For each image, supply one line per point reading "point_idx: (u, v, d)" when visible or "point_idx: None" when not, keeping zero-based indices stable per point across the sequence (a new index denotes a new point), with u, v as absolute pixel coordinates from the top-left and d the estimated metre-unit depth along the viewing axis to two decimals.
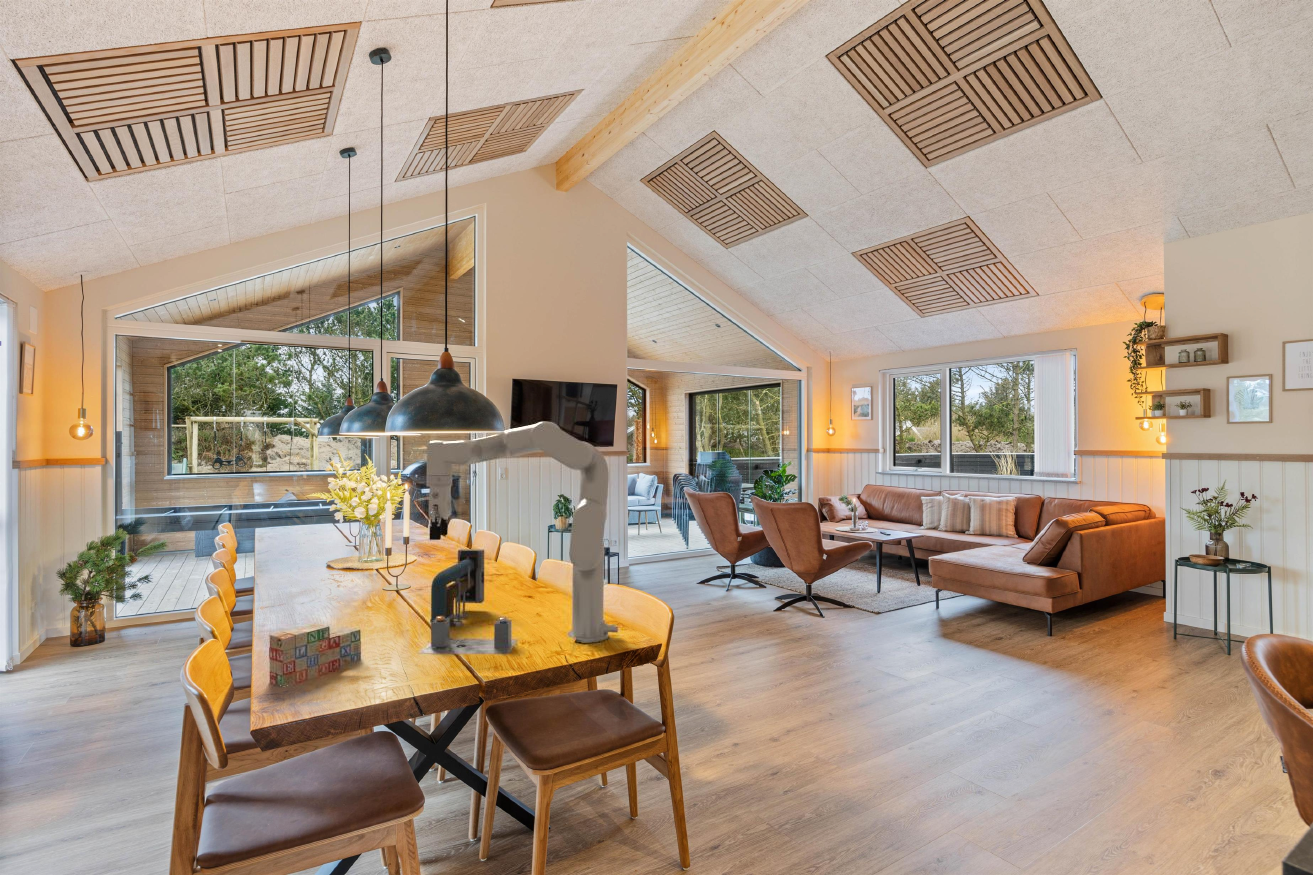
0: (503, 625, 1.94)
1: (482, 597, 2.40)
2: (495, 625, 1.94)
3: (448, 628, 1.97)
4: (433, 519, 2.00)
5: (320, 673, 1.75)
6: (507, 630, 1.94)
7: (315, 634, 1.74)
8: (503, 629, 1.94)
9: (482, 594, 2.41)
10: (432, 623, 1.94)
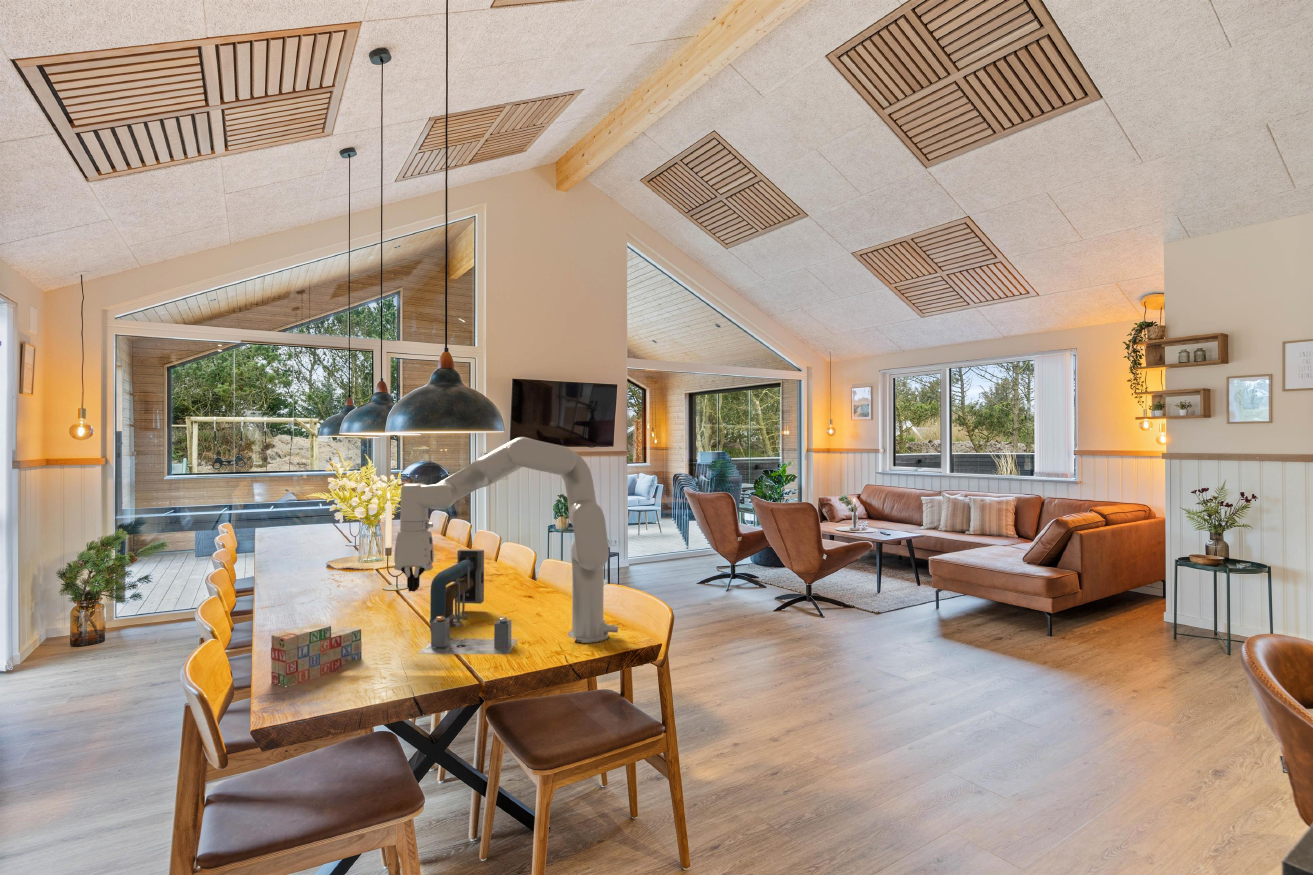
0: (503, 625, 1.94)
1: (481, 598, 2.40)
2: (495, 625, 1.94)
3: (448, 628, 1.97)
4: (425, 570, 1.96)
5: (322, 673, 1.75)
6: (507, 630, 1.94)
7: (317, 634, 1.74)
8: (503, 629, 1.94)
9: (482, 594, 2.40)
10: (432, 623, 1.94)
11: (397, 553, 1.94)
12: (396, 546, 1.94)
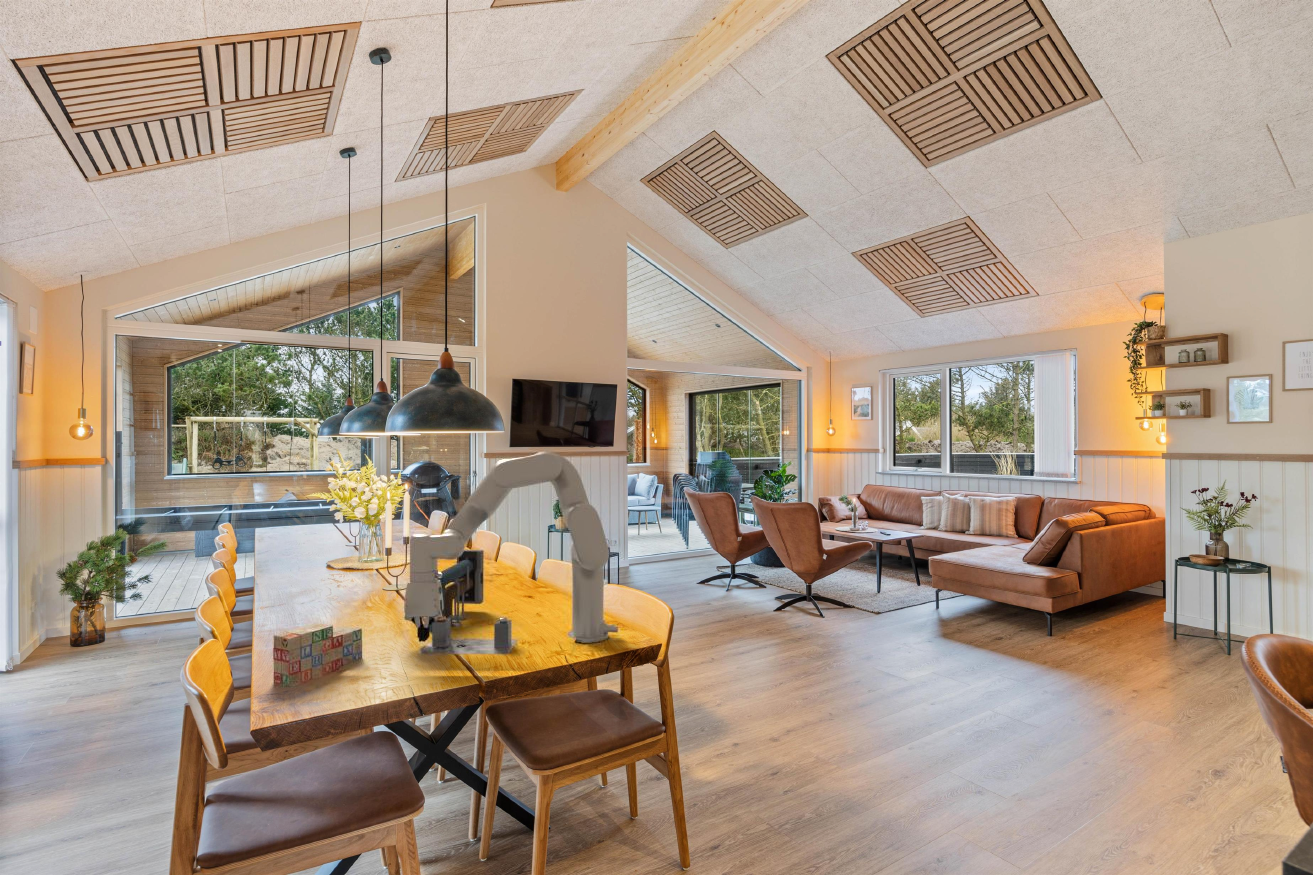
0: (503, 625, 1.94)
1: (481, 598, 2.39)
2: (495, 625, 1.94)
3: (449, 628, 1.97)
4: None
5: (324, 672, 1.76)
6: (507, 630, 1.94)
7: (319, 633, 1.74)
8: (503, 629, 1.94)
9: (481, 594, 2.40)
10: (433, 623, 1.94)
11: (407, 604, 1.94)
12: (406, 597, 1.94)
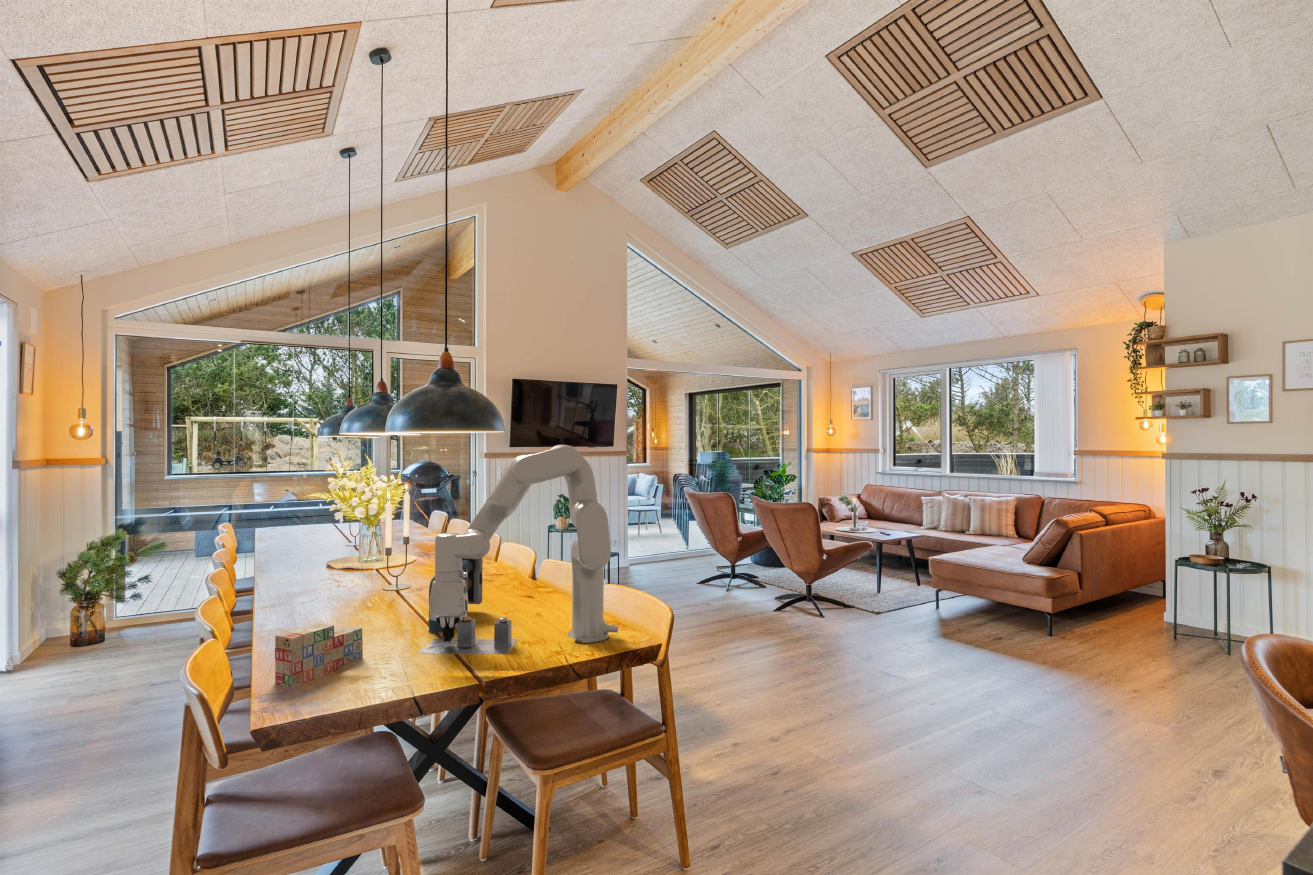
0: (503, 625, 1.94)
1: (480, 599, 2.39)
2: (495, 625, 1.94)
3: (474, 628, 1.97)
4: None
5: (325, 672, 1.76)
6: (507, 630, 1.94)
7: (321, 633, 1.74)
8: (503, 629, 1.94)
9: (480, 595, 2.39)
10: (458, 623, 1.94)
11: (432, 604, 1.94)
12: (431, 597, 1.94)
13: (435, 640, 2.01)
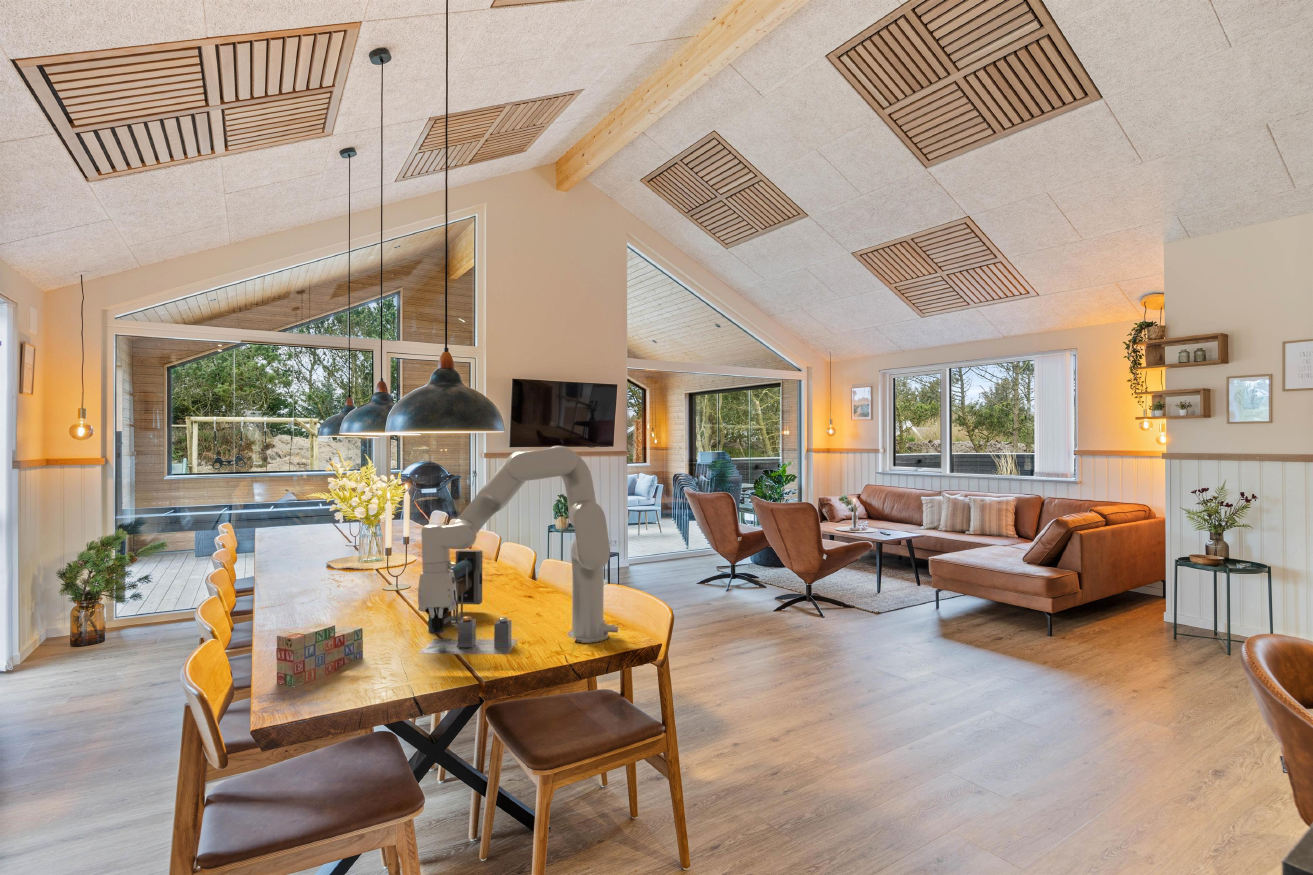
0: (503, 625, 1.94)
1: (480, 599, 2.38)
2: (495, 625, 1.94)
3: (474, 628, 1.97)
4: None
5: (327, 672, 1.76)
6: (507, 630, 1.94)
7: (322, 633, 1.75)
8: (503, 629, 1.94)
9: (480, 595, 2.39)
10: (459, 623, 1.94)
11: (420, 595, 1.94)
12: (419, 588, 1.94)
13: (435, 640, 2.01)
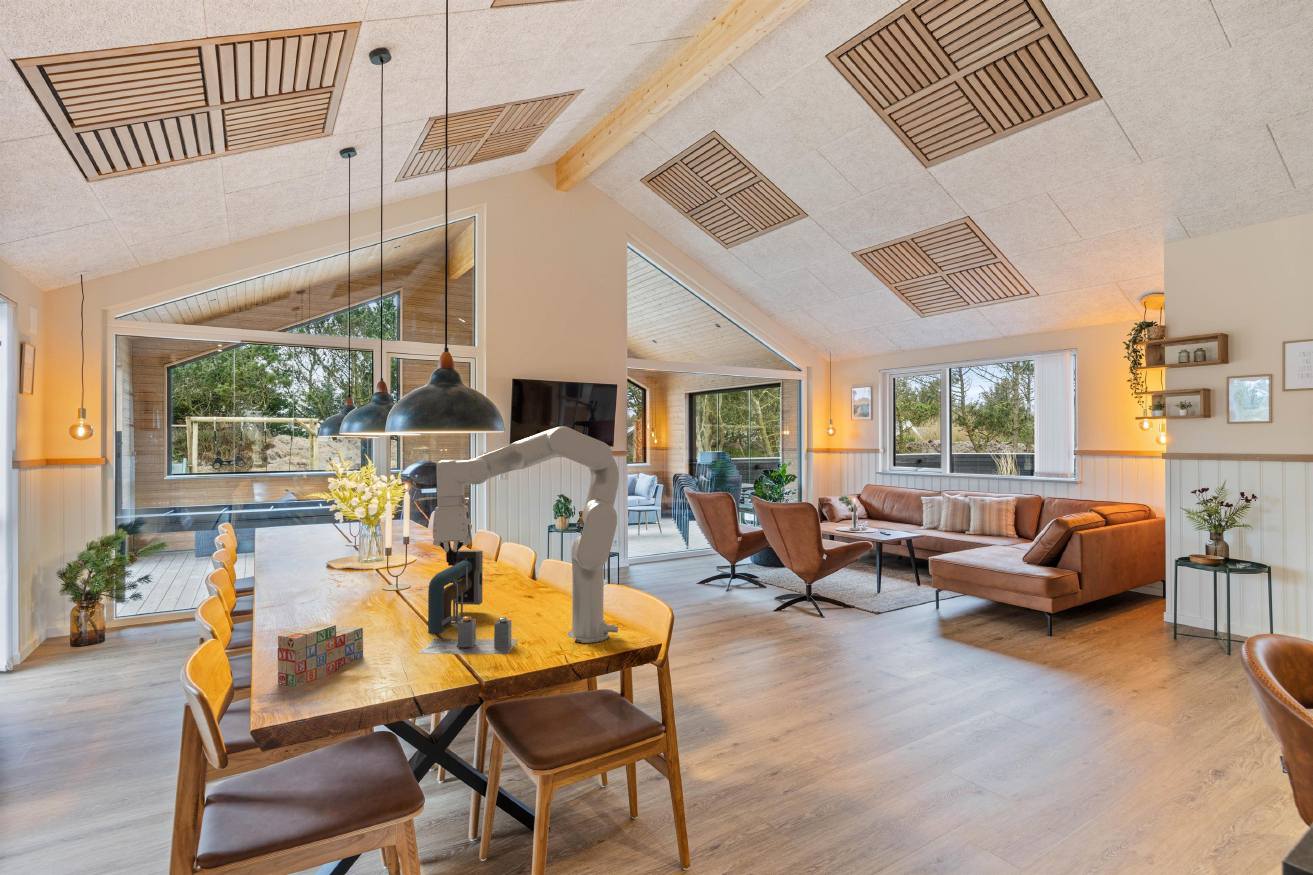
0: (503, 625, 1.94)
1: (480, 599, 2.38)
2: (495, 625, 1.94)
3: (474, 628, 1.97)
4: (463, 545, 1.99)
5: (328, 672, 1.76)
6: (507, 630, 1.94)
7: (323, 633, 1.75)
8: (503, 629, 1.94)
9: (480, 595, 2.38)
10: (459, 623, 1.94)
11: (435, 528, 1.97)
12: (434, 522, 1.97)
13: (435, 640, 2.01)
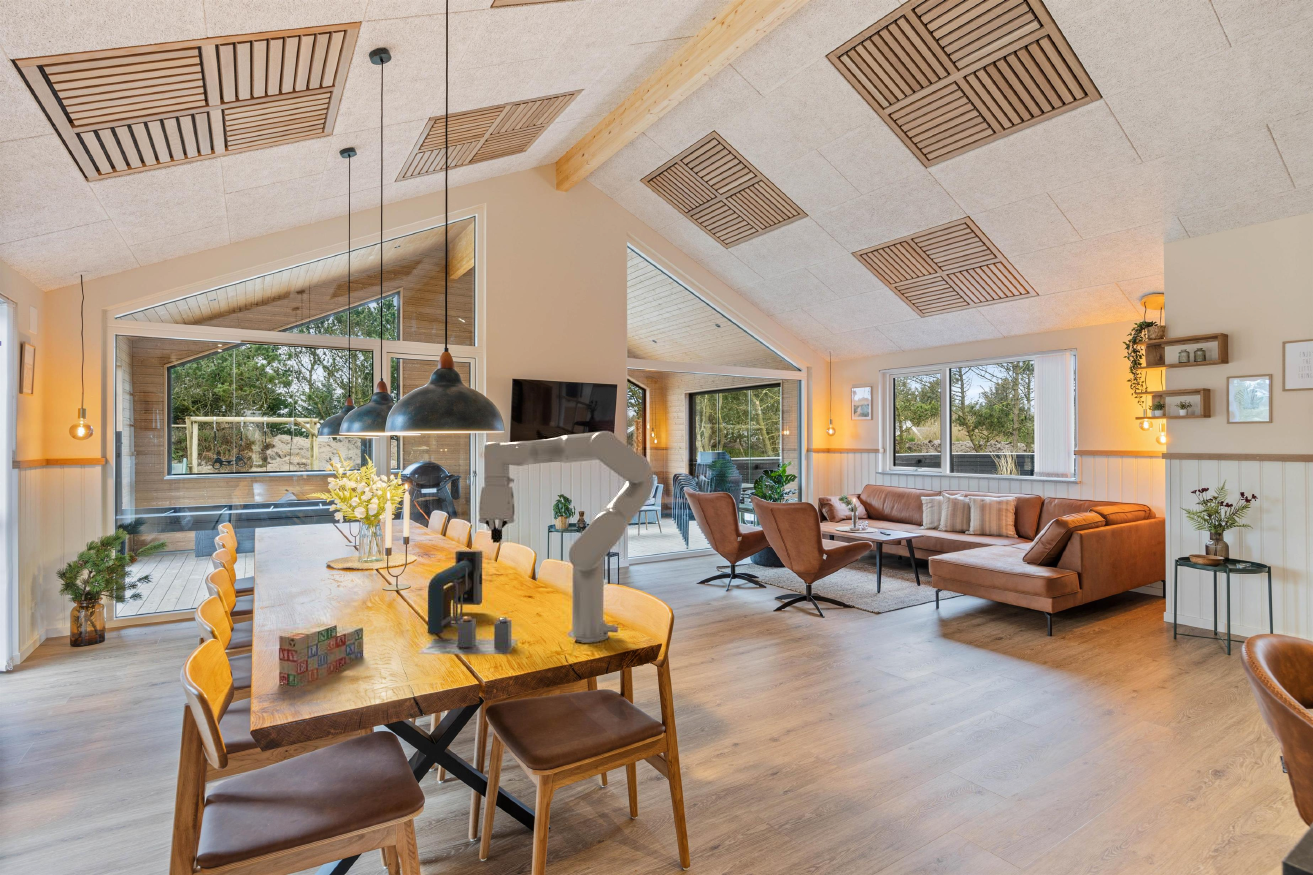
0: (503, 625, 1.94)
1: (480, 599, 2.38)
2: (495, 625, 1.94)
3: (474, 628, 1.97)
4: (507, 523, 2.09)
5: (329, 672, 1.76)
6: (507, 630, 1.94)
7: (324, 633, 1.75)
8: (503, 629, 1.94)
9: (480, 595, 2.38)
10: (459, 623, 1.94)
11: (482, 507, 2.07)
12: (481, 500, 2.07)
13: (435, 640, 2.01)
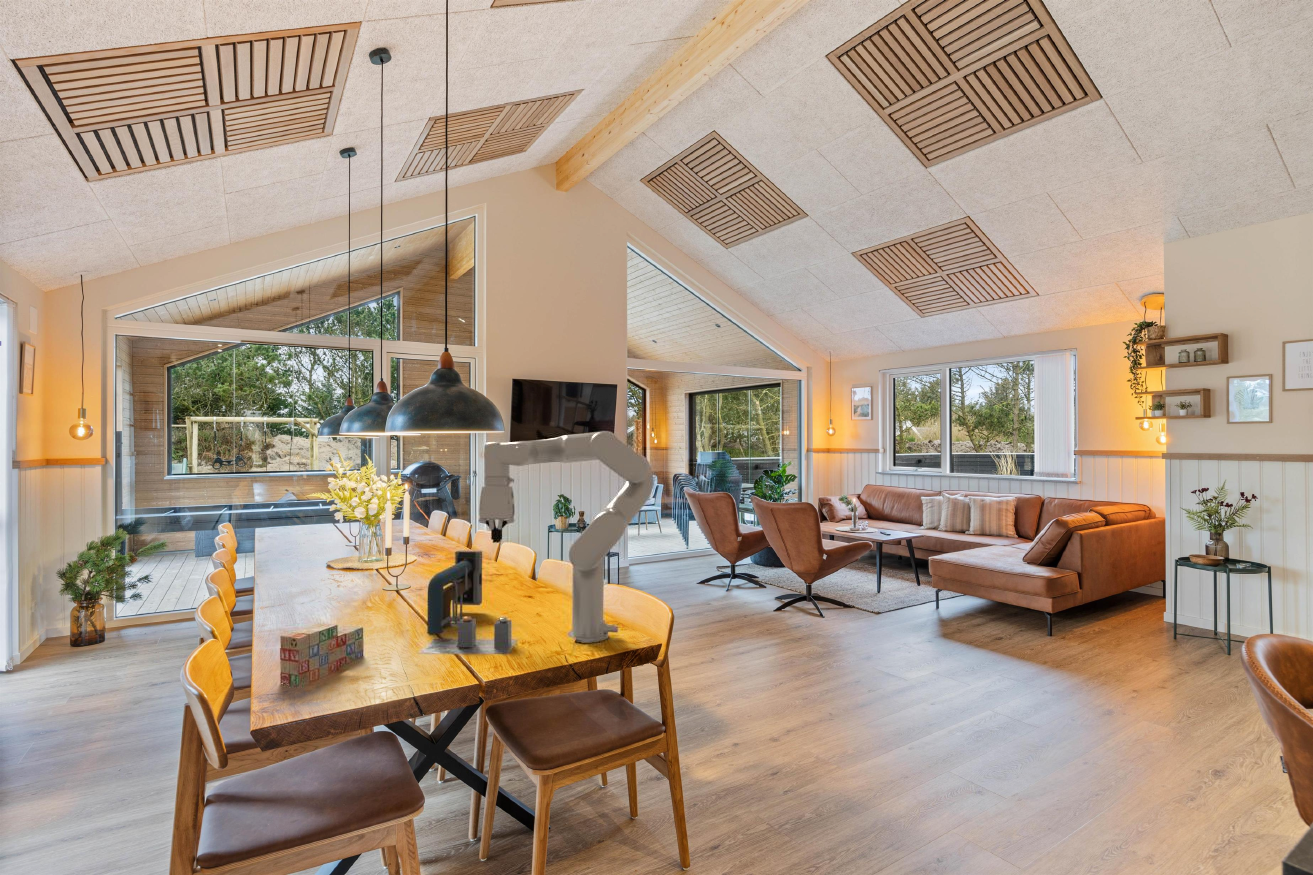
0: (503, 625, 1.94)
1: (479, 599, 2.37)
2: (495, 625, 1.94)
3: (474, 628, 1.97)
4: (508, 523, 2.09)
5: (330, 671, 1.76)
6: (507, 630, 1.94)
7: (325, 633, 1.75)
8: (503, 629, 1.94)
9: (480, 596, 2.38)
10: (459, 623, 1.94)
11: (482, 507, 2.07)
12: (481, 500, 2.07)
13: (435, 640, 2.01)
